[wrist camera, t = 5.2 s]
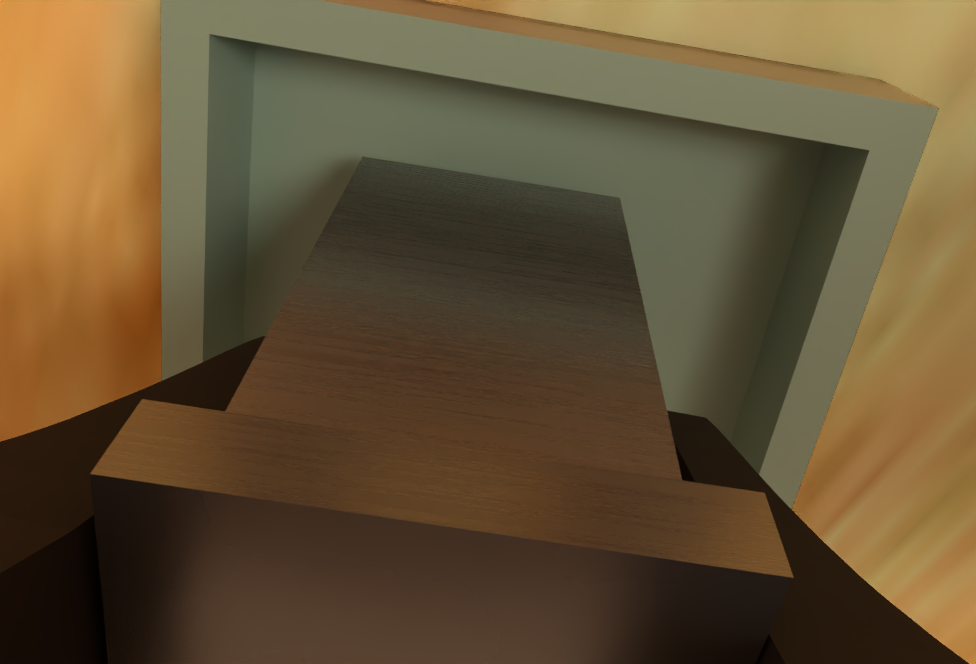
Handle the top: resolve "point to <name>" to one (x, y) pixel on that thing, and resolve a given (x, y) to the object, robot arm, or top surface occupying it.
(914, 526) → the top surface
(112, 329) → the top surface
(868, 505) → the top surface
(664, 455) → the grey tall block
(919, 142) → the tray
